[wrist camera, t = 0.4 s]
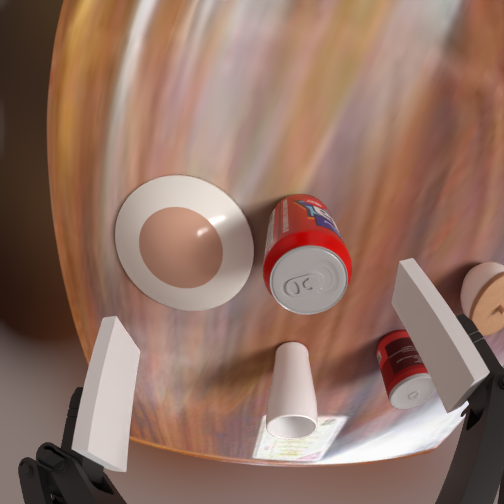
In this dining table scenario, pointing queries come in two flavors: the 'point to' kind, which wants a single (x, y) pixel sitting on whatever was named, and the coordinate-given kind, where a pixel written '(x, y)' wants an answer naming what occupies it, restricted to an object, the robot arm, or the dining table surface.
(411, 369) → the canned food
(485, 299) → the lidded jar
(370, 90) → the dining table surface
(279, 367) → the drinking glass
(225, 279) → the cream plate
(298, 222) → the soda can
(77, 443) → the robot arm
